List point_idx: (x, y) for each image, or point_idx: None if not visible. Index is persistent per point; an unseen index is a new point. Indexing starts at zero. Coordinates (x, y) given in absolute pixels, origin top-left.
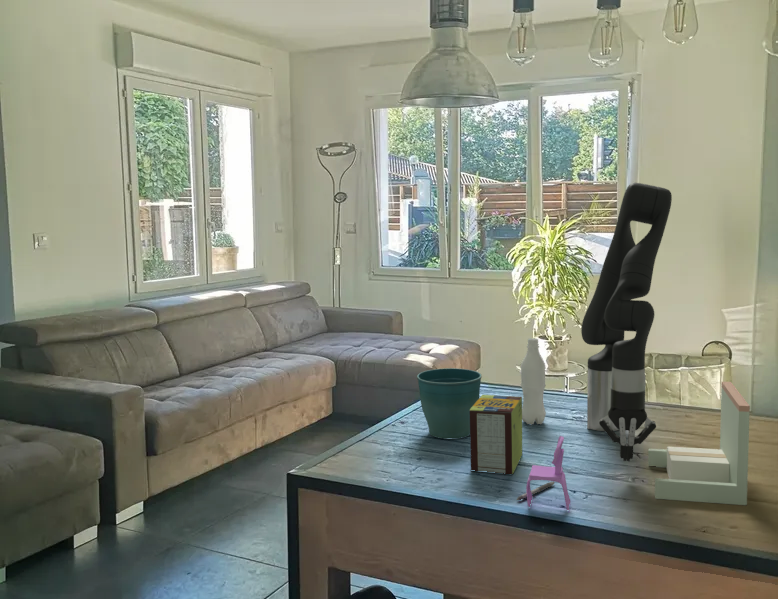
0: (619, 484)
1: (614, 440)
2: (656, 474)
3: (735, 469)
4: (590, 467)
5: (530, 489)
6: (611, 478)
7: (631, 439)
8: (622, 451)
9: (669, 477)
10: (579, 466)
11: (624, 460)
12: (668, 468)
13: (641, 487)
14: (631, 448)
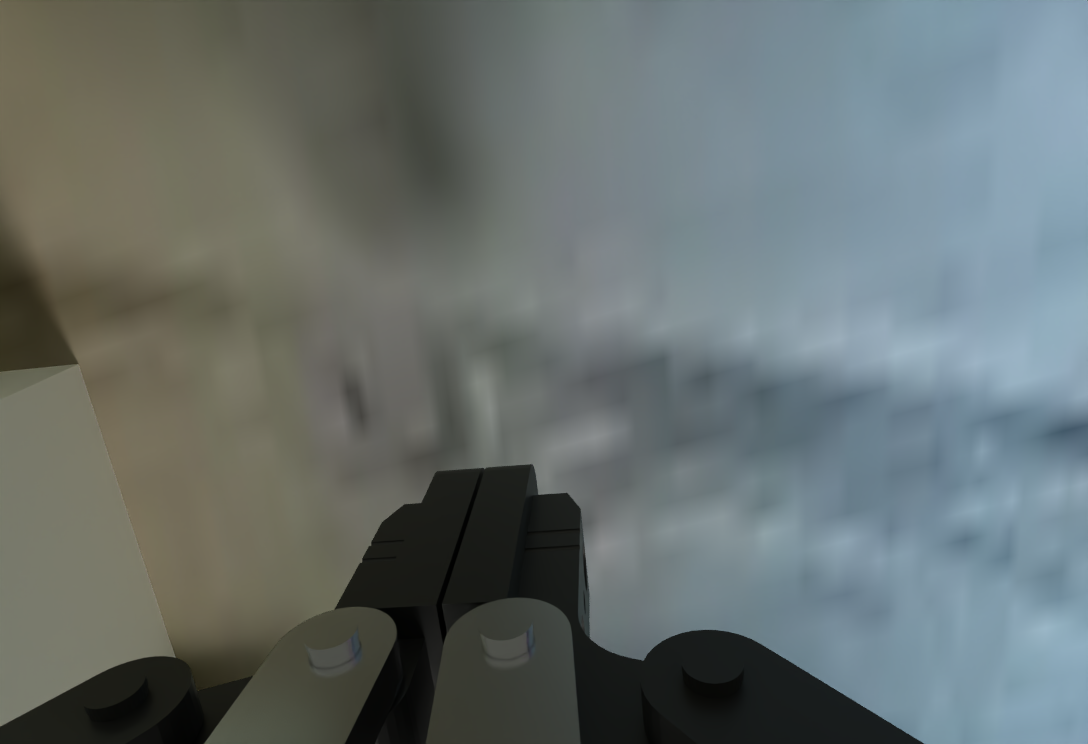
0: (575, 215)
1: (727, 653)
2: (259, 600)
3: None
4: (895, 627)
5: None
6: (672, 377)
7: (281, 722)
8: (541, 553)
9: (104, 505)
10: (1011, 628)
11: (517, 467)
12: (106, 639)
13: (335, 195)
14: (368, 607)
